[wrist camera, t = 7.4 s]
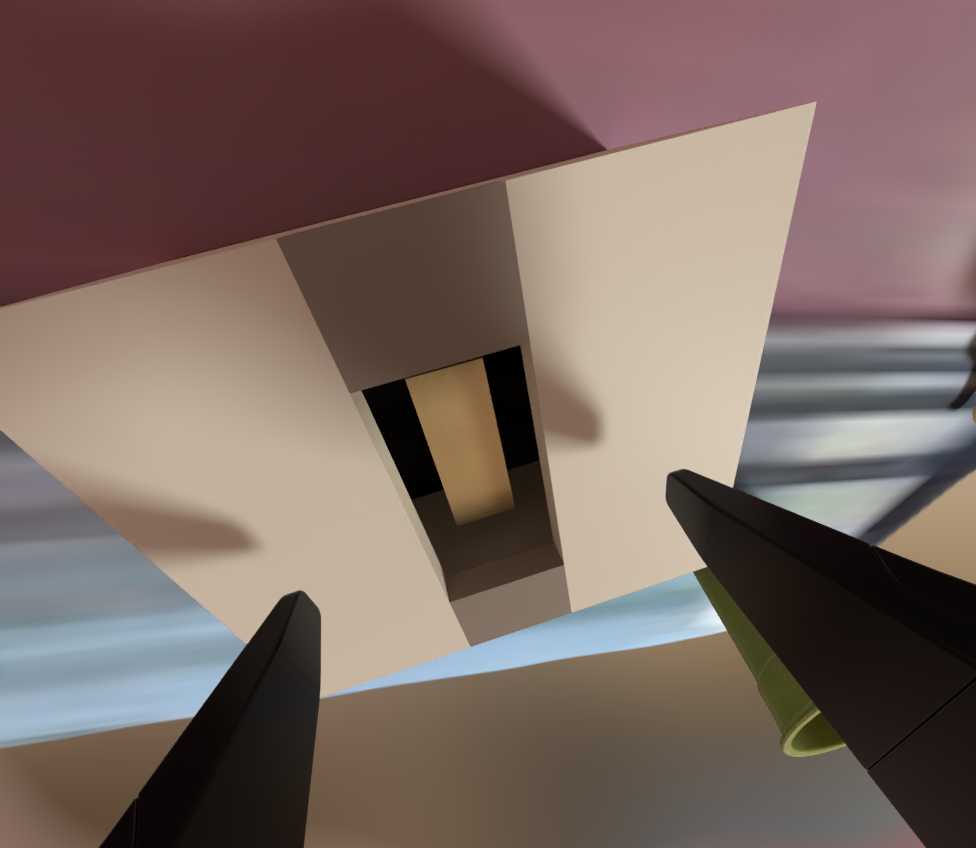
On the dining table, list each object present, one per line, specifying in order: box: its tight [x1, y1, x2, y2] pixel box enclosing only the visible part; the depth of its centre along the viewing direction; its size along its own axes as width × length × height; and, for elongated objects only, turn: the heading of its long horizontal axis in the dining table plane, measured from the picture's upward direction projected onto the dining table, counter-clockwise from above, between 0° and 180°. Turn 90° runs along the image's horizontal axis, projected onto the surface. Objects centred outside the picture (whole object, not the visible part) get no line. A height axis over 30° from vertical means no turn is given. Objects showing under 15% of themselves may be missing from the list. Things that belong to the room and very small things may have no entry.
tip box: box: [0, 102, 816, 697], centre depth 13 cm, size 16×14×8 cm
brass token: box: [405, 356, 515, 526], centre depth 14 cm, size 2×6×6 cm, turn 11°
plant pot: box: [693, 567, 847, 757], centre depth 24 cm, size 12×12×11 cm
